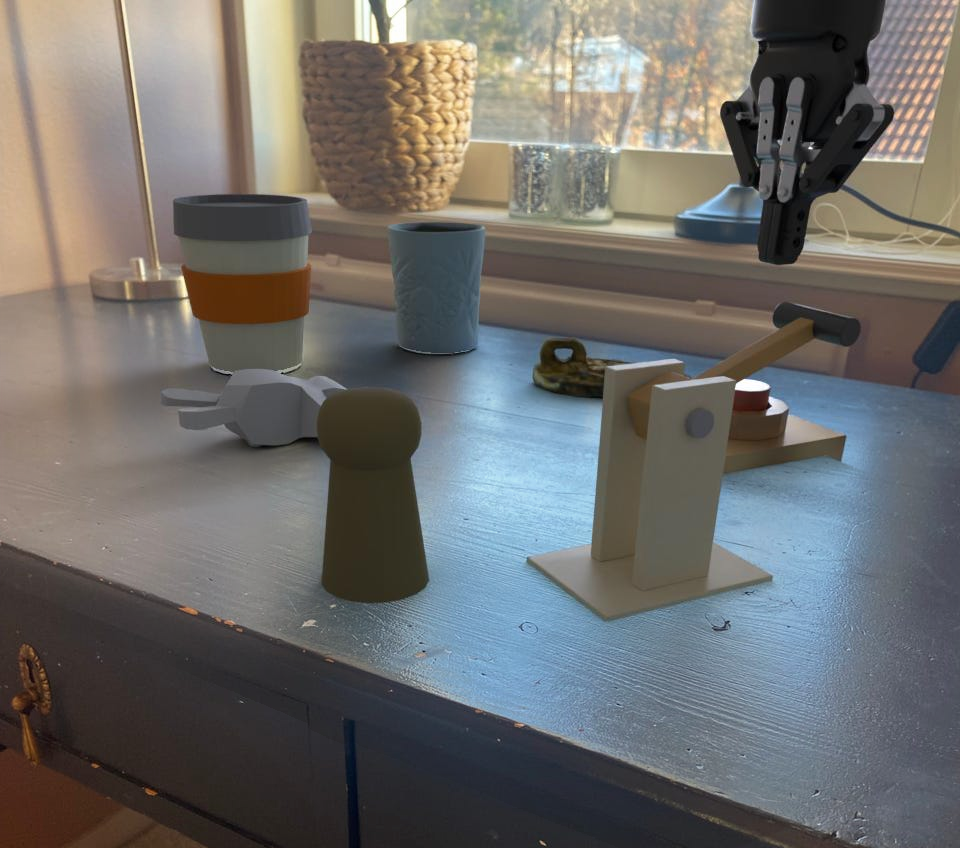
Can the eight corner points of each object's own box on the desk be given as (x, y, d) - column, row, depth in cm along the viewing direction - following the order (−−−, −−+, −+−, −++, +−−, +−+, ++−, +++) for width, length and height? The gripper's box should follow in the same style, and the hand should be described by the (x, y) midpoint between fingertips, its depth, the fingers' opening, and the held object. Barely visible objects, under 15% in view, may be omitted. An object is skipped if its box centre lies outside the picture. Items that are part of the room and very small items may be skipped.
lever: (794, 329, 54) (790, 288, 53) (862, 348, 51) (860, 304, 49) (620, 428, 52) (610, 388, 50) (678, 456, 48) (669, 413, 46)
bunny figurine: (386, 391, 74) (185, 389, 66) (380, 456, 76) (186, 462, 69) (340, 363, 81) (155, 359, 74) (336, 424, 83) (156, 426, 76)
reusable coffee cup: (342, 370, 95) (333, 203, 88) (219, 388, 89) (198, 209, 81) (288, 345, 104) (276, 192, 97) (172, 359, 98) (150, 196, 90)
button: (744, 399, 75) (748, 376, 74) (777, 411, 72) (781, 388, 71) (707, 404, 73) (710, 381, 72) (739, 417, 71) (743, 393, 70)
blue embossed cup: (415, 360, 99) (413, 233, 93) (375, 340, 107) (370, 222, 101) (501, 350, 104) (504, 229, 98) (456, 332, 111) (456, 218, 105)
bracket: (680, 542, 60) (705, 346, 54) (770, 595, 53) (809, 380, 48) (525, 575, 55) (534, 366, 49) (604, 637, 49) (625, 406, 43)
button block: (751, 427, 81) (758, 379, 79) (841, 463, 73) (852, 411, 71) (632, 446, 76) (637, 395, 74) (716, 487, 68) (723, 431, 66)
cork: (330, 568, 56) (317, 375, 50) (435, 570, 55) (434, 377, 50) (310, 617, 50) (294, 408, 45) (427, 621, 50) (424, 411, 45)
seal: (688, 390, 95) (536, 380, 96) (695, 340, 93) (539, 330, 94) (694, 405, 86) (526, 394, 88) (701, 350, 84) (529, 340, 86)
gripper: (969, -62, 53) (895, 274, 61) (793, -39, 63) (751, 247, 71) (871, -75, 50) (808, 282, 58) (702, -49, 60) (670, 252, 68)
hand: (776, 262), depth 65 cm, fingers closed
